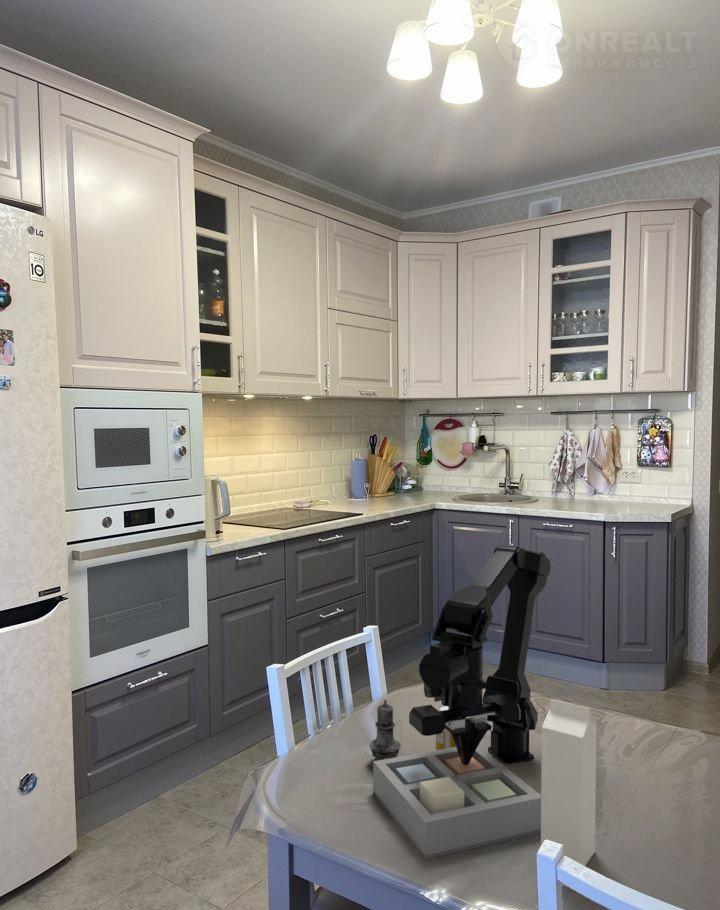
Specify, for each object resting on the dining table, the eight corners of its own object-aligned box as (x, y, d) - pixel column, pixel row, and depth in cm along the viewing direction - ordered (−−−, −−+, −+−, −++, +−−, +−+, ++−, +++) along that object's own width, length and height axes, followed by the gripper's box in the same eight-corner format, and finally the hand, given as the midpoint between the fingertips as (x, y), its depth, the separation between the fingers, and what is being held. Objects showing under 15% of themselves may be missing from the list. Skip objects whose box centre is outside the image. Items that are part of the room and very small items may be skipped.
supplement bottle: (466, 756, 130) (467, 705, 130) (461, 769, 125) (462, 716, 125) (439, 752, 132) (439, 702, 132) (432, 764, 127) (433, 712, 127)
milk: (555, 838, 103) (556, 692, 103) (595, 852, 100) (597, 701, 100) (539, 857, 99) (541, 704, 98) (581, 873, 95) (583, 714, 95)
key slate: (422, 788, 117) (422, 763, 116) (436, 802, 112) (436, 777, 112) (395, 793, 115) (395, 768, 115) (408, 808, 110) (408, 782, 110)
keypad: (475, 773, 124) (476, 743, 123) (542, 832, 105) (543, 797, 105) (373, 792, 116) (373, 761, 116) (425, 859, 98) (425, 822, 98)
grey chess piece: (398, 773, 124) (398, 706, 123) (366, 769, 125) (366, 704, 125) (402, 758, 129) (403, 695, 129) (372, 755, 130) (372, 692, 130)
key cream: (448, 803, 108) (448, 776, 108) (464, 819, 103) (464, 791, 103) (419, 808, 106) (419, 782, 106) (434, 825, 101) (434, 797, 101)
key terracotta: (469, 778, 120) (470, 755, 120) (484, 792, 115) (485, 767, 115) (444, 783, 118) (444, 759, 118) (458, 798, 113) (458, 772, 113)
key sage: (498, 805, 111) (498, 779, 111) (516, 820, 107) (516, 794, 106) (471, 810, 109) (471, 784, 109) (488, 827, 105) (488, 799, 105)
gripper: (488, 653, 127) (487, 736, 127) (396, 664, 121) (395, 752, 121) (522, 672, 117) (521, 762, 117) (424, 685, 110) (423, 781, 110)
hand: (464, 763), depth 117 cm, fingers closed, pressing on key terracotta
